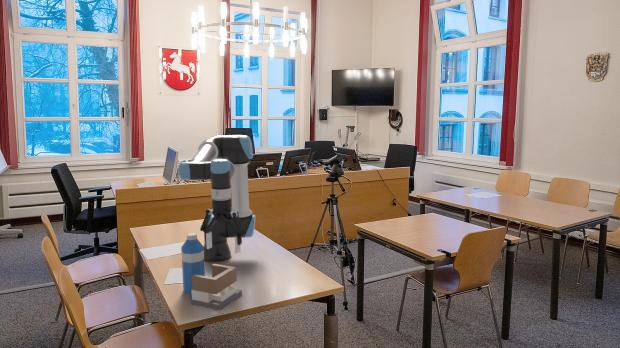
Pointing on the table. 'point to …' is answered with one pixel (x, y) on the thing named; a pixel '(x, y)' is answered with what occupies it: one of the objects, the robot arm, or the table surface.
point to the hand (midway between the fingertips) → (223, 250)
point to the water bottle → (192, 261)
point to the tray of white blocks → (215, 298)
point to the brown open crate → (215, 279)
